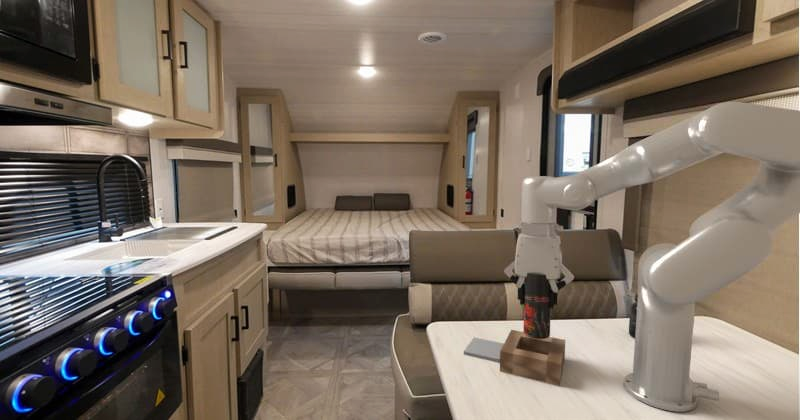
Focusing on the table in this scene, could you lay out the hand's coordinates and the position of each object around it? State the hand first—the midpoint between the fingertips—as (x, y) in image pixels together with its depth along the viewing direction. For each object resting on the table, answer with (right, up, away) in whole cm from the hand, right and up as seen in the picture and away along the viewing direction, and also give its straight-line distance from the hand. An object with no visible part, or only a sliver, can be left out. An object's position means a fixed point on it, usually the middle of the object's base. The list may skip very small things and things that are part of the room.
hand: (537, 304), depth 88 cm
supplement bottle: (+36, -13, +16) cm, 42 cm away
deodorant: (0, -7, +1) cm, 7 cm away
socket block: (0, -15, +2) cm, 15 cm away
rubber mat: (-10, -14, +9) cm, 20 cm away
